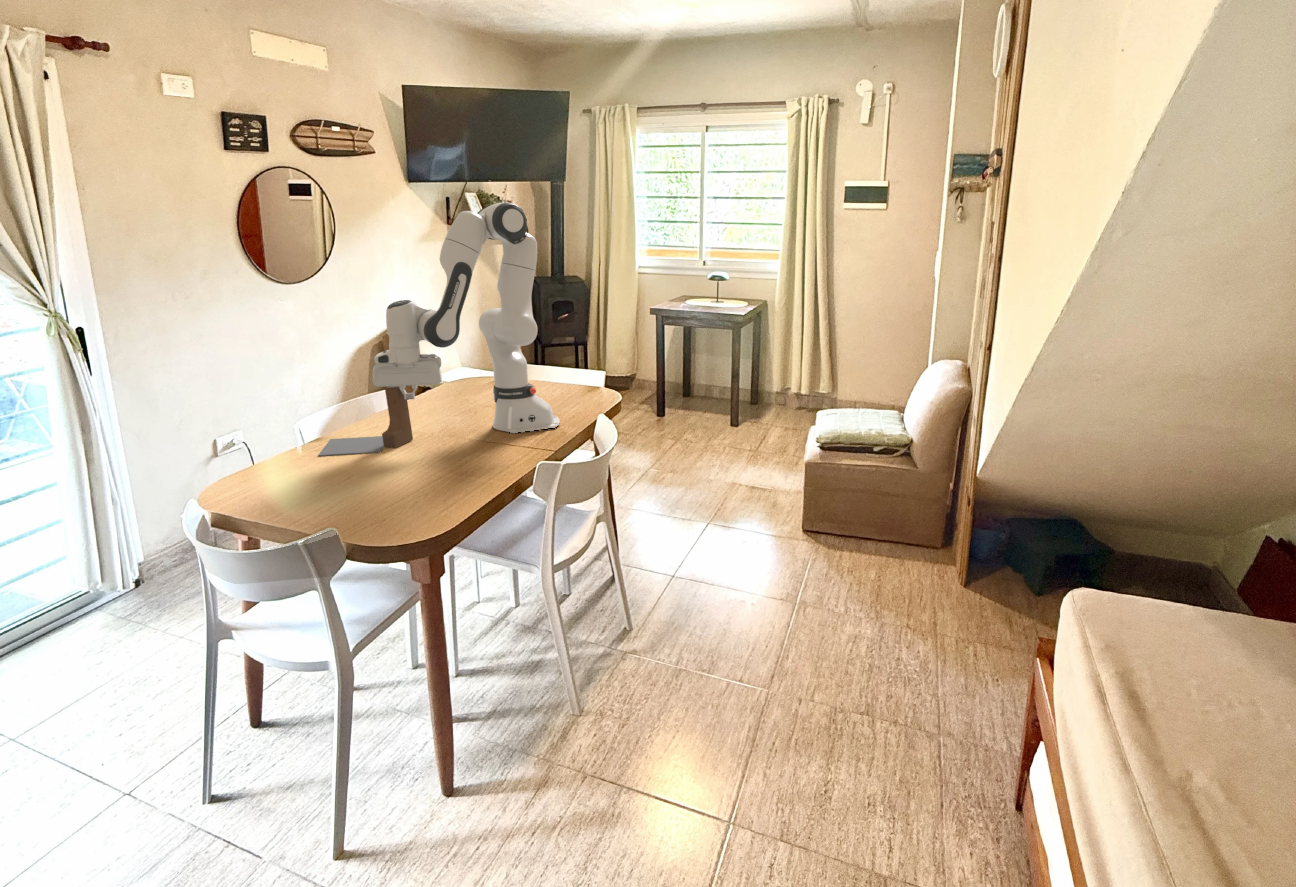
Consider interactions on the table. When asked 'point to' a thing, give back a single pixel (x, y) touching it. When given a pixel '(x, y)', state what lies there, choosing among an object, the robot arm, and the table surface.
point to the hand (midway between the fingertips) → (409, 399)
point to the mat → (353, 446)
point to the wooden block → (397, 419)
